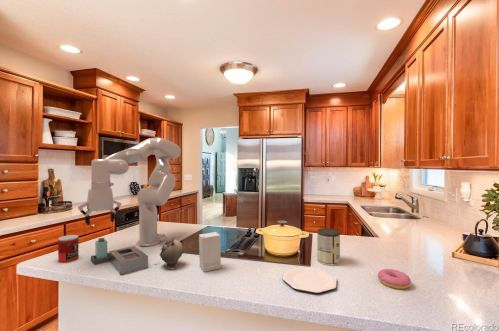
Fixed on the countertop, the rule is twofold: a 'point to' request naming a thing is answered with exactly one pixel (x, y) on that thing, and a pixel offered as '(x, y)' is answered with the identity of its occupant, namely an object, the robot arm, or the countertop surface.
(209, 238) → the skincare box
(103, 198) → the robot arm
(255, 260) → the countertop surface
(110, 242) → the countertop surface
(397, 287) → the doughnut
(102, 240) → the plug
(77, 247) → the canned food
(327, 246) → the coffee can
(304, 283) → the plate
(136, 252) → the port panel
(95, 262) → the tray
